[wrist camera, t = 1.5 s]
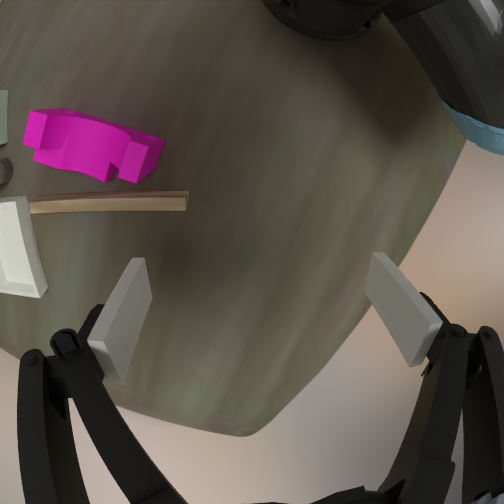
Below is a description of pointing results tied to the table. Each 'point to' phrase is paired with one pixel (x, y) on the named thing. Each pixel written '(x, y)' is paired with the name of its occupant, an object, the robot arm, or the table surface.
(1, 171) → the cylinder
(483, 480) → the robot arm
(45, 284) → the tray
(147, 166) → the toy block
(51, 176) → the table surface
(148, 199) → the brown wooden bar
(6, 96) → the socket
